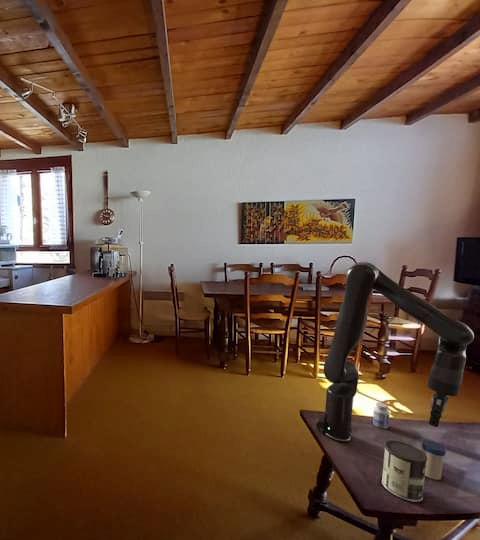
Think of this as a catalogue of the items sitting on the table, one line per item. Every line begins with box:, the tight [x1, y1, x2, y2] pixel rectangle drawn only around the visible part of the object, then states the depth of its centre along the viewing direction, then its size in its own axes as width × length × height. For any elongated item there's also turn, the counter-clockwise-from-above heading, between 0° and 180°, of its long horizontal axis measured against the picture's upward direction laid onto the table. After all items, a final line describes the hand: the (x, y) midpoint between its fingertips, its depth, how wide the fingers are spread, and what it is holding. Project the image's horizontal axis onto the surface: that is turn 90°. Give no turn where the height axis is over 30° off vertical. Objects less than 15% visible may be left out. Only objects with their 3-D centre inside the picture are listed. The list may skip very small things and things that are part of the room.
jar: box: [421, 447, 445, 481], centre depth 108 cm, size 5×5×11 cm
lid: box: [421, 439, 447, 457], centre depth 107 cm, size 6×6×2 cm
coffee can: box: [381, 439, 427, 503], centre depth 101 cm, size 10×10×14 cm
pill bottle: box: [372, 402, 390, 429], centre depth 137 cm, size 6×5×10 cm
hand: (434, 421), depth 107 cm, fingers open, 8 cm apart
